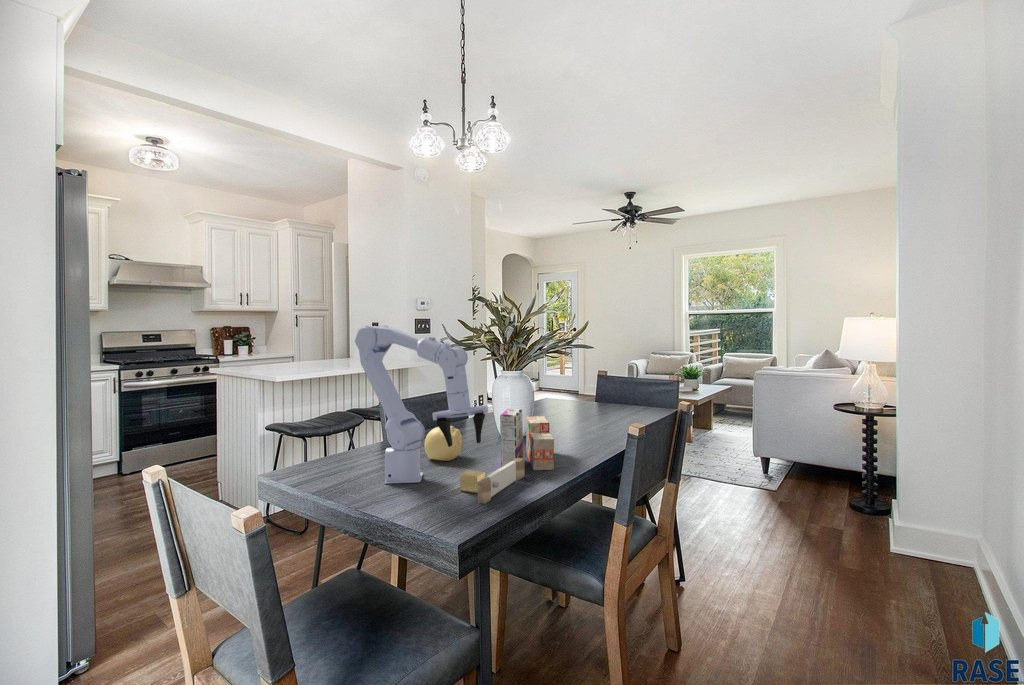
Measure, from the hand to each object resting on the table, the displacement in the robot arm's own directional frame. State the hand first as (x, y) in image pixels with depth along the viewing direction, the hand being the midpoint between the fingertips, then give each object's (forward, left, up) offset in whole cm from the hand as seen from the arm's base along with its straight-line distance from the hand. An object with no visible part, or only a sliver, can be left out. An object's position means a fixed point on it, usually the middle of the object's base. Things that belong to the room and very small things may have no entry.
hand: (464, 444), depth 127 cm
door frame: (+10, -2, -11) cm, 15 cm away
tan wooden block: (+2, -3, -11) cm, 12 cm away
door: (+10, -3, -11) cm, 15 cm away
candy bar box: (+14, +18, -11) cm, 26 cm away
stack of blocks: (+23, +23, -12) cm, 34 cm away
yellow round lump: (-7, +28, -12) cm, 31 cm away
